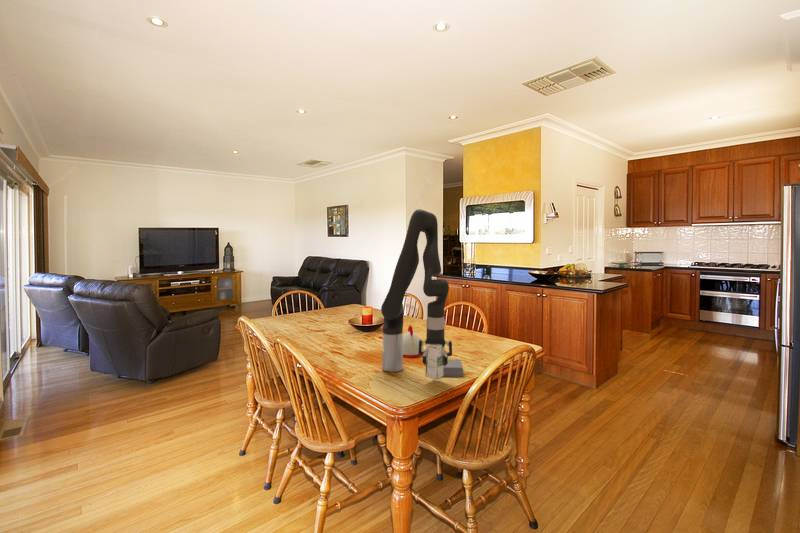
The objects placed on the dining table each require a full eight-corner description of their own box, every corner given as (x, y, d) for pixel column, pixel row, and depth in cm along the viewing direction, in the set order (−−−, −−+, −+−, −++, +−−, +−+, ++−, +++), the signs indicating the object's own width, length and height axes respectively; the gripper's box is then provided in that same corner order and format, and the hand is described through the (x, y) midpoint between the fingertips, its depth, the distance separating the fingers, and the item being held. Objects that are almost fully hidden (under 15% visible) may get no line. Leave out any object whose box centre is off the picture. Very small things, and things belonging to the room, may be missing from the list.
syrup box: (432, 373, 169) (433, 340, 168) (444, 376, 165) (444, 342, 164) (425, 376, 165) (425, 343, 163) (436, 380, 161) (437, 345, 160)
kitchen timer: (400, 359, 196) (400, 329, 195) (395, 351, 210) (394, 323, 208) (426, 357, 199) (426, 328, 198) (420, 349, 213) (419, 322, 211)
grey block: (437, 376, 172) (437, 367, 172) (437, 367, 183) (437, 359, 183) (462, 376, 171) (462, 367, 171) (460, 367, 182) (460, 359, 182)
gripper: (418, 328, 160) (417, 367, 162) (453, 329, 159) (452, 368, 160) (419, 324, 168) (418, 361, 169) (452, 325, 166) (451, 362, 168)
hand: (435, 364), depth 165 cm, fingers closed on syrup box, 8 cm apart
